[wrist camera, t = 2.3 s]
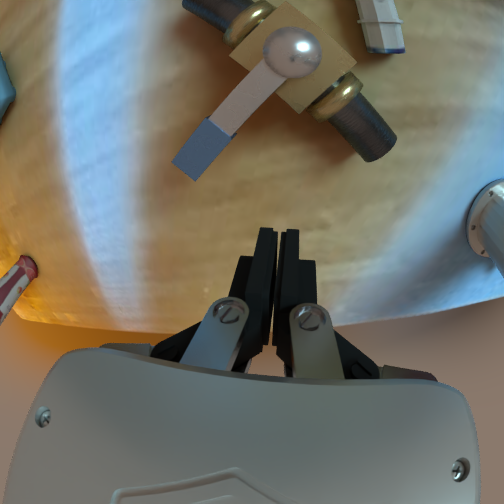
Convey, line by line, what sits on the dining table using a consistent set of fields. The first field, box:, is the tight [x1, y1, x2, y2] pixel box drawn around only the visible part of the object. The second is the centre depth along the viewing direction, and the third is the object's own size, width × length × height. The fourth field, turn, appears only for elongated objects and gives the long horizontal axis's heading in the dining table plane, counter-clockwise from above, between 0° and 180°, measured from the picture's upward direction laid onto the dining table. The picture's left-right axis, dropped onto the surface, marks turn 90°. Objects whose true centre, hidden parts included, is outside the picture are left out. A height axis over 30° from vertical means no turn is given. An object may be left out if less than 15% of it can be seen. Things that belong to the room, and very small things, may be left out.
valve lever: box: [172, 26, 322, 181], centre depth 18 cm, size 4×15×2 cm, turn 139°
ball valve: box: [182, 0, 397, 162], centre depth 20 cm, size 24×7×8 cm, turn 49°
